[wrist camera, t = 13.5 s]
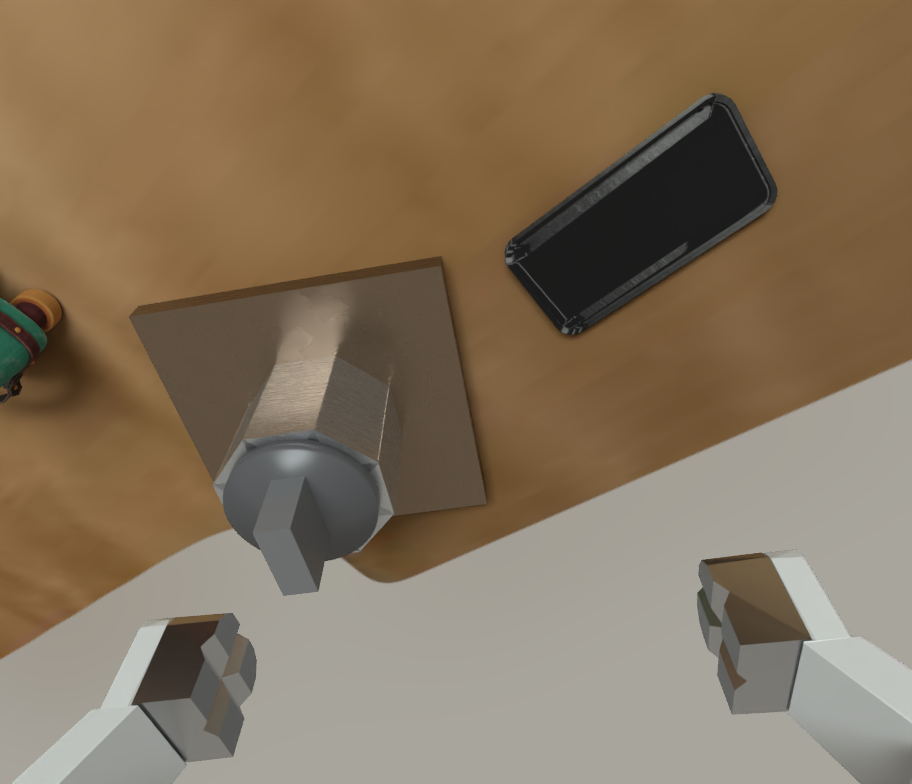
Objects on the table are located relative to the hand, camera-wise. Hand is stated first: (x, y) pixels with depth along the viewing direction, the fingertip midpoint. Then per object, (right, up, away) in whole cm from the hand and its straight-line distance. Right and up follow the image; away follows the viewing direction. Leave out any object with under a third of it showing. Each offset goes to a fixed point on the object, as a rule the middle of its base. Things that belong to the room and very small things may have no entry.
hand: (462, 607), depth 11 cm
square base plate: (-9, +3, +35) cm, 36 cm away
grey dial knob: (-9, -2, +28) cm, 30 cm away
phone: (+11, +14, +28) cm, 33 cm away
